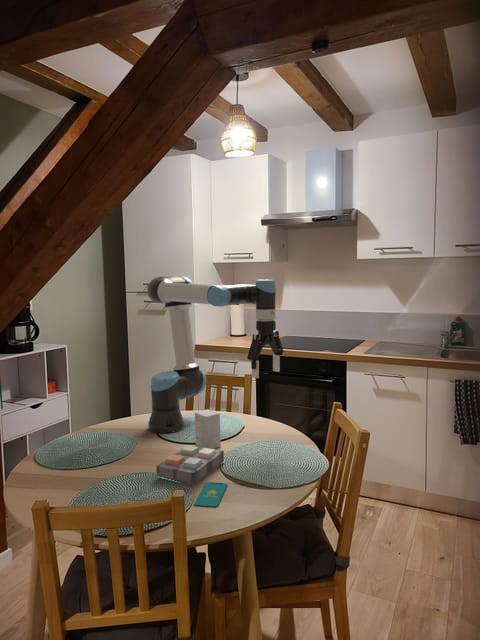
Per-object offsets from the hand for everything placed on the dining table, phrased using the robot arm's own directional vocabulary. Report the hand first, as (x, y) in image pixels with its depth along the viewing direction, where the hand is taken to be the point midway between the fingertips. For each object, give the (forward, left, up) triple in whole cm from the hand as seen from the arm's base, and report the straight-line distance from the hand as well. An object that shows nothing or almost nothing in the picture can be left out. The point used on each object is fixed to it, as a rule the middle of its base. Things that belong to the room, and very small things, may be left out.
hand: (266, 374), depth 187 cm
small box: (-18, -15, -26) cm, 35 cm away
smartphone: (+3, -50, -27) cm, 57 cm away
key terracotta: (-15, -42, -23) cm, 50 cm away
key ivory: (-9, -33, -23) cm, 41 cm away
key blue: (-9, -42, -23) cm, 49 cm away
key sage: (-15, -33, -23) cm, 43 cm away
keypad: (-12, -37, -26) cm, 47 cm away
